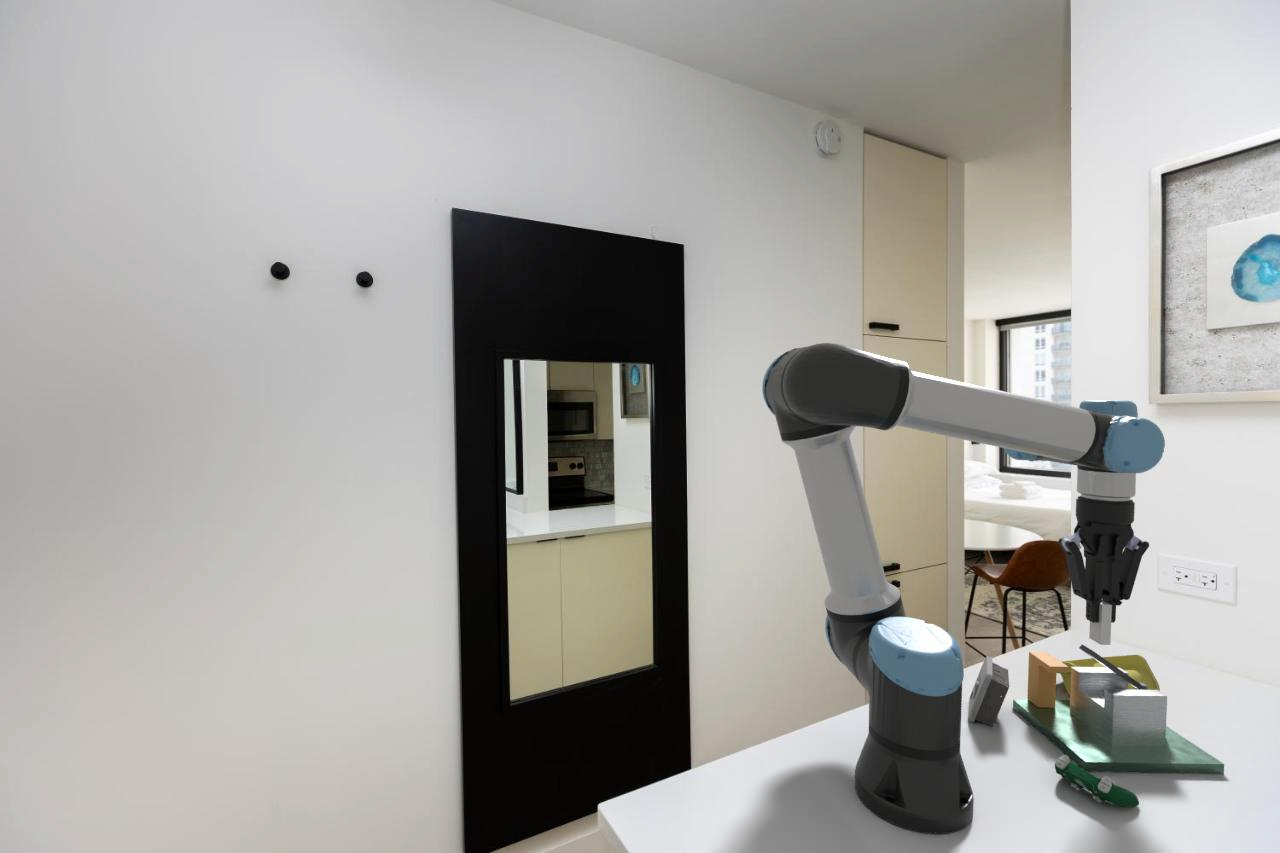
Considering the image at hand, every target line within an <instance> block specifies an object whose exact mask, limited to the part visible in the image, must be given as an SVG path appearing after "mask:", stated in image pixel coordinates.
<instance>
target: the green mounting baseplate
mask: <svg viewBox="0 0 1280 853" xmlns="http://www.w3.org/2000/svg"><path fill="white" fill-rule="evenodd" d="M1117 668H1118V669H1120V670H1121V671H1122V672H1124V673H1125V674H1127V675H1128V672H1126V671H1124V670H1123V669H1121V668H1119V667H1117ZM1140 684H1141V685H1143V686H1144V687H1145V688H1147V685H1145V684H1144V683H1140ZM1069 696H1070V697H1069V699H1056V700H1055V708H1043V707H1037V706H1035V705H1034V704H1033V703H1032V702H1030V701H1029V700H1028V699H1017V698H1016V699H1013V700H1012V708H1013V709H1014V710H1015V709H1016V710H1017V711H1018V713H1019V714H1020V716H1022V717H1023V718H1024V719H1025V720H1026V719H1027V722H1028V723H1030V725H1032V726H1033V725H1034V726H1035V727H1036V729H1037V730H1038V731H1039V732H1040V734H1042V735H1043V736H1044V737H1045V738H1047V739H1048V740H1049V741H1050V742H1051V743H1052V744H1054V746H1055V747H1057V748H1058V749H1059V750H1060V751H1061V752H1062V753H1063V754H1064V755H1067V756H1068V757H1069V759H1070V760H1071V761H1074V762H1076V763H1077V764H1078V766H1079V768H1081V769H1082V770H1084V771H1086V772H1088V773H1129V774H1131V773H1136V774H1138V773H1139V774H1140V773H1141V774H1147V773H1148V774H1198V775H1199V774H1202V775H1203V774H1205V775H1224V774H1225V763H1223V762H1222V761H1221V760H1219V759H1217V758H1215V757H1214V756H1213V755H1211V754H1209V753H1208V752H1207V751H1205V750H1203V749H1202V748H1200V747H1199V746H1197V745H1196V744H1194V743H1193V742H1191V741H1190V740H1188V739H1187V738H1186V737H1184V736H1183V735H1180V734H1179V733H1178V732H1177V731H1174V730H1173V729H1171V728H1170V727H1169V726H1167V712H1168V711H1167V710H1168V709H1167V707H1168V695H1166V694H1165V693H1163V692H1162V691H1161V690H1160V691H1158V690H1138V689H1137V688H1136V690H1130V689H1128V682H1127V681H1125V680H1124V679H1122V678H1121V677H1120V676H1118V675H1117V674H1115V673H1114V672H1112V671H1111V670H1109V669H1108V668H1107V667H1071V691H1070V694H1069ZM1016 710H1015V711H1016ZM1017 711H1016V712H1017ZM1034 726H1033V727H1034ZM1035 727H1034V728H1035Z"/></svg>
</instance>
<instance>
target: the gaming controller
mask: <svg viewBox="0 0 1280 853" xmlns="http://www.w3.org/2000/svg"><path fill="white" fill-rule="evenodd" d="M1054 769H1055V773H1056V774H1058V775H1059V776H1060V777H1062V778H1063V779H1065V780H1068V781H1069V782H1070V787H1071V788H1072V789H1074V790H1077V791H1080V790H1084V789H1085V790H1086V791H1088V792H1090V793H1091V795H1092V799H1093V800H1094V801H1097V802H1098V803H1100V804H1101V803H1102V802H1104V803H1105V802H1107V803H1109V804H1113V805H1116V806H1118V807H1119V806H1120V807H1125V808H1131V807H1136V806H1139V805H1140V801H1139V799H1138V796H1137V795H1136V794H1135V793H1134V792H1133V791H1131V790H1130V789H1127V788H1124V787H1120V786H1119V785H1116V784H1114V783H1113V782H1112V779H1111V778H1110V777H1109V776H1108V775H1104V776H1103V777H1102V778H1100V777H1097V776H1096V775H1094V774H1092V773H1091V772H1086V771H1084V770H1083V769H1082V768H1080V767H1079V766H1078V764H1077V763H1076V762H1074V761H1073V760H1071V759H1070V758H1069V757H1068V756H1067V755H1066V754H1063V755H1060V757H1059V758H1058V759H1057V760H1056V761H1055V763H1054Z"/></svg>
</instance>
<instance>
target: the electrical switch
mask: <svg viewBox="0 0 1280 853" xmlns="http://www.w3.org/2000/svg"><path fill="white" fill-rule="evenodd" d="M1009 688H1010V678H1009V668H1008V669H1007V668H1006V667H1003V666H1000V665H999V664H997V663H995V662H993V657H992V656H989V655H986V657H985V658H984V660H983V662H982V665H981V668H980V670H979V672H978V675H977V677H976V679H975V682H974V685H973V687H972V691H971V694H970V696H969V699H968V700H969V701H968V716H967V720H968V721H969V722H970V723H972V724H974V723H975V721H976V720H977V721H979V722H981V723H984V724H986V725H988V726H991V727H992V726H993V727H994V725H995V723H996V721H997V718H998V717H999V716H998V715H999V714H1000V711H1001V709H1002V706H1003V703H1004V701H1005V699H1006V696H1007V694H1008V691H1009Z"/></svg>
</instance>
